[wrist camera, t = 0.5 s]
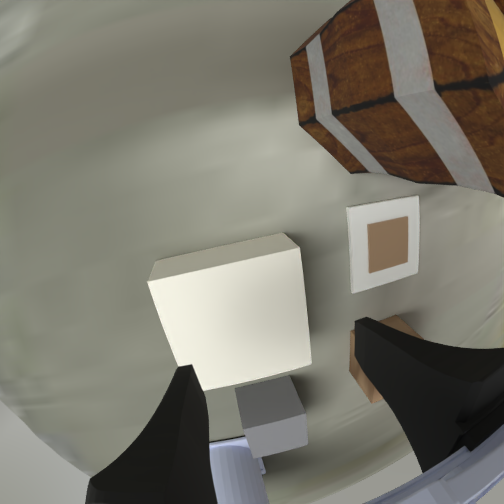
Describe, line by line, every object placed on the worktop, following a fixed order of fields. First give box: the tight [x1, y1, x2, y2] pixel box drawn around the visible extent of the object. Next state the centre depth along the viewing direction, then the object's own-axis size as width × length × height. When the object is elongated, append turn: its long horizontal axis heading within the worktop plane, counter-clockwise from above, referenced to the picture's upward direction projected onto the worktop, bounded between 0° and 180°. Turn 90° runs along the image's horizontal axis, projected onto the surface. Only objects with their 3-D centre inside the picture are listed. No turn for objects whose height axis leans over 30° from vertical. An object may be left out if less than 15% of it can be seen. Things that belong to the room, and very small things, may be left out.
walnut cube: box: [349, 315, 423, 403], centre depth 23 cm, size 5×5×5 cm
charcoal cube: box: [235, 375, 308, 459], centre depth 23 cm, size 5×5×5 cm
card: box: [346, 195, 420, 294], centre depth 22 cm, size 7×7×1 cm
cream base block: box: [148, 233, 312, 391], centre depth 20 cm, size 9×9×4 cm
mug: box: [290, 0, 504, 197], centre depth 11 cm, size 20×14×15 cm
